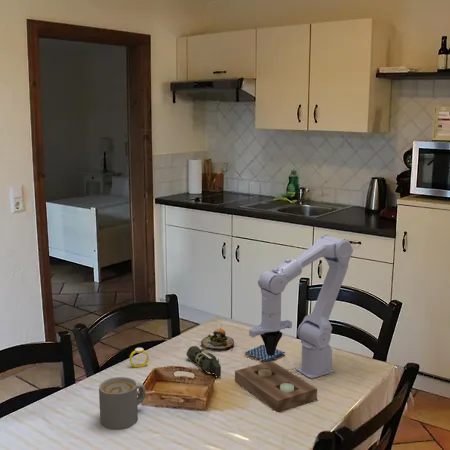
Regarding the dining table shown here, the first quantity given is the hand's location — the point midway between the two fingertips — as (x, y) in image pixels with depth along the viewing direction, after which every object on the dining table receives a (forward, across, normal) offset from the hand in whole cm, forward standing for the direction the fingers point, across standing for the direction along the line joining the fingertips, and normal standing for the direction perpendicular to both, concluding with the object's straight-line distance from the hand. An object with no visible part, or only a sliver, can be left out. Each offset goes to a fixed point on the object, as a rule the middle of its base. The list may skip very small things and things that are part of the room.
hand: (270, 354), depth 172 cm
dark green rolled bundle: (+10, +11, -21) cm, 25 cm away
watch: (+10, +28, -33) cm, 44 cm away
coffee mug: (+10, +45, -5) cm, 46 cm away
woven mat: (+10, -11, -18) cm, 23 cm away
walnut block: (+10, +1, +4) cm, 11 cm away
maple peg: (+9, +1, -1) cm, 9 cm away
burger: (+10, -3, -34) cm, 36 cm away
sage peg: (+9, +1, +10) cm, 14 cm away
